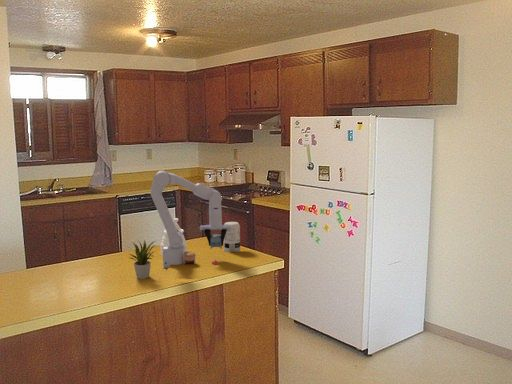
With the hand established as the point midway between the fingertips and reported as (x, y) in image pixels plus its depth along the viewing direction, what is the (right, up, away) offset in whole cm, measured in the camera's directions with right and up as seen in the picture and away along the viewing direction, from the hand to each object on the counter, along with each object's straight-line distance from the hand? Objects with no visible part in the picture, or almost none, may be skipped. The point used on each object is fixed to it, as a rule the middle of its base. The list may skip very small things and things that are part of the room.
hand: (216, 245), depth 228 cm
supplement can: (+7, -6, +19) cm, 21 cm away
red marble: (0, -8, -5) cm, 9 cm away
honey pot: (-23, -6, +18) cm, 29 cm away
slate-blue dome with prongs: (0, -1, 0) cm, 2 cm away
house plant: (-29, -12, -18) cm, 36 cm away
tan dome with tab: (-12, -9, -4) cm, 15 cm away
